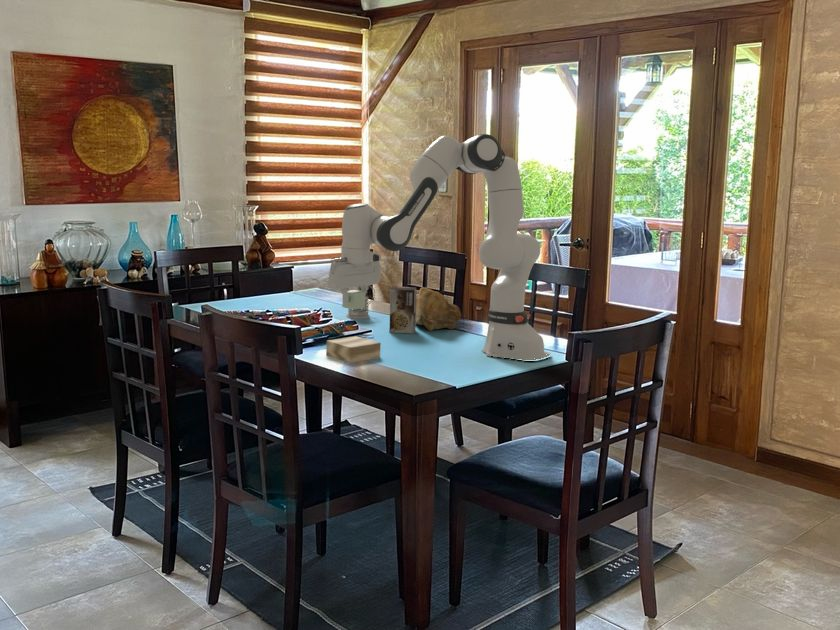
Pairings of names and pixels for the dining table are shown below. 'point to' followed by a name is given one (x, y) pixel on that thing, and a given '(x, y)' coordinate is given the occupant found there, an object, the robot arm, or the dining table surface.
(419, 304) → the rough brown rock
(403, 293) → the coffee box
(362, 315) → the french press
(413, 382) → the dining table surface
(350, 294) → the sage cube
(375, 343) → the maple block
